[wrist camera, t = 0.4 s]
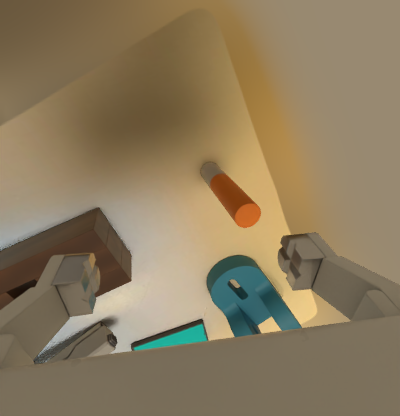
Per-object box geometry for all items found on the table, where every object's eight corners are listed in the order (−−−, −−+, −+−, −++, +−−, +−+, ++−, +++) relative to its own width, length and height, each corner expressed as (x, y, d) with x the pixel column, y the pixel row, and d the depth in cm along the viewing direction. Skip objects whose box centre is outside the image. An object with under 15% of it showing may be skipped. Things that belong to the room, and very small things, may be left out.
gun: (-21, 390, 44) (-43, 457, 35) (104, 300, 49) (110, 340, 40) (-10, 396, 45) (-28, 461, 37) (111, 307, 50) (119, 347, 42)
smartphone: (130, 348, 49) (203, 322, 51) (130, 344, 49) (202, 319, 51) (141, 367, 52) (209, 343, 54) (141, 363, 53) (208, 339, 55)
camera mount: (279, 294, 54) (309, 338, 45) (240, 321, 55) (261, 369, 46) (242, 245, 45) (270, 287, 36) (196, 278, 46) (212, 326, 37)
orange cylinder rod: (197, 166, 36) (231, 210, 24) (215, 159, 36) (257, 198, 24) (204, 183, 38) (239, 232, 26) (220, 175, 38) (263, 220, 26)
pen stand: (-12, 256, 35) (-37, 287, 29) (98, 207, 35) (93, 229, 30) (35, 298, 40) (21, 331, 34) (131, 255, 40) (131, 281, 35)
